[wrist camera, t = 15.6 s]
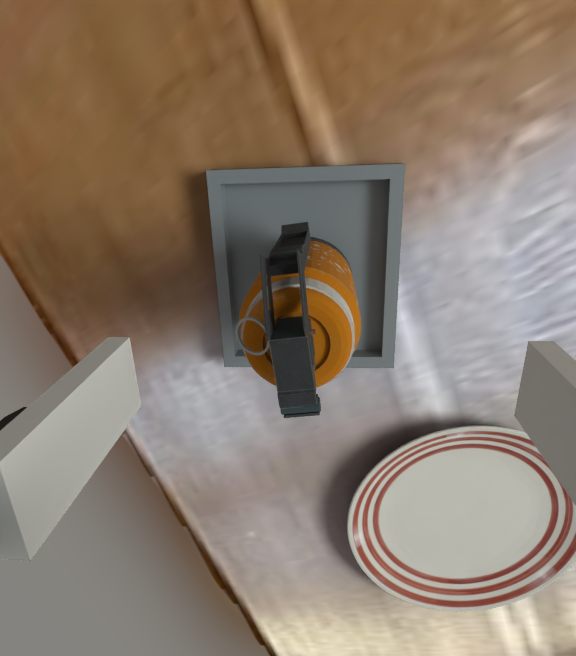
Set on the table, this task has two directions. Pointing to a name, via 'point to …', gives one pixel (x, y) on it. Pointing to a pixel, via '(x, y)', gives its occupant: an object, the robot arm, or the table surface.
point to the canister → (300, 318)
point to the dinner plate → (463, 520)
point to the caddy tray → (324, 223)
